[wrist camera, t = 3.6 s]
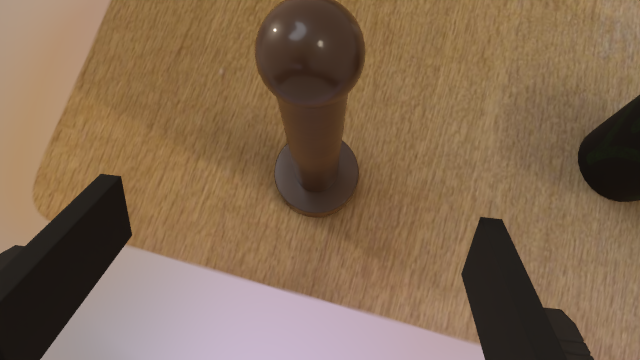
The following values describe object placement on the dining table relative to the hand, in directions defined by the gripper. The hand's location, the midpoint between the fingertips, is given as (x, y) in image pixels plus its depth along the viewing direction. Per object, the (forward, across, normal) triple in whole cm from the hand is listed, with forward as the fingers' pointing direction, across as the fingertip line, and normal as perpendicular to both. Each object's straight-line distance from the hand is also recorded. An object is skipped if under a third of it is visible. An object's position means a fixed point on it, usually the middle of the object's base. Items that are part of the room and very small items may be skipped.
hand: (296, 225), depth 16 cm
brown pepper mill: (+13, 0, -6) cm, 14 cm away
